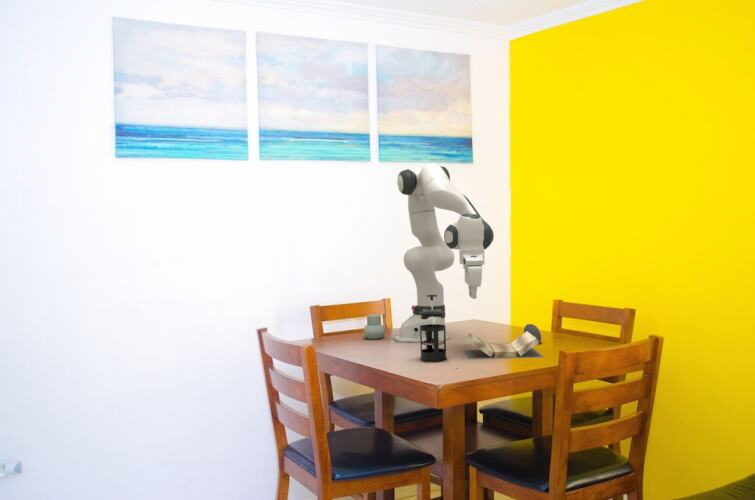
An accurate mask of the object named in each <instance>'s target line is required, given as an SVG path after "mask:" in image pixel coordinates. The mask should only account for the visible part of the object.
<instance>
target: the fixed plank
mask: <svg viewBox="0 0 755 500" xmlns="http://www.w3.org/2000/svg"><path fill="white" fill-rule="evenodd" d="M488 345H489V346H490V348H491V349H492V350H493V351H494V353H493V356H494V357H495V358H496V359H510V358H509V357H517V355H516V351H515V350H514V349H513V348H512V347H511V345H510V343H501V344H500V343H497V344H496V343H493V344H492V343H491V344H488Z"/></svg>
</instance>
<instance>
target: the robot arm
mask: <svg viewBox="0 0 755 500" xmlns="http://www.w3.org/2000/svg"><path fill="white" fill-rule="evenodd" d="M396 181H397V182H396V183H397V187H398V190H399V192H400V193H401V194H402V195H405V196H408V197H407V207H408V216H409V217H408V218H409V224H410V229H411V234H412V235H413V236H414V237H415V238H416V239H417V240H418V241H419V243H420V244H421V245H418V246H414V247H412V248H409V249H407V250H406V252H405V253H404V255H403V263H404V267H405V268H406V269H407V271H408V272H410V274H411V275H412V278H413V279H414V283H415V287H416V297H417V299H416V301H417V305H412V306H411V310H412V315H411V316H409V317H408V318H407V319H406V320H405V321H403V322H402V324H401V325H400V329H399V334H396V335H395V336H394V341H396V342H398V343H403V342H404V343H420V326H421V325H427V324H432V317H429V318H428V319H421V314H420V312H423V311H430V310H432V304H433V310H437V311H444V312H445V313H444V318H441V317H433V324H440V325H445V333H446V340H448V339H449V338H450V337H449V334H448V332H447V331H448V330H447V326H446V306H445V303H444V302H445V299H444V297H445V295H444V286H443V284H442V283H441V282H439V281H438V280H439V279H438V278H437V275H436V272H441V271H444V270H447V269H449V268H451V267H452V266H453V264H454V263H455V254H454V251H453V250H459V251H458V252H459V255H458V256H459V264H460V265H463V266H462V268H463V269H464V283H465V284H467V287H468V295H469V297H470V298H471V299H472V300H473V299H474V300H475V299H477V293H478V288H479V287H482V286H481V285H482V278H483V266H484V265H485V250H486V249H488V248H489V247H490V246H491V245H492V243H493V241H494V231H493V228H492V227H491V225H490V224H489V223H488V222H486V220H485V219H483V217H482V216H481V215H480V213H479V212H478V210H477V209H476V207H475V206H474V205H473V204H472V202H471V200H470V199H469V198H468V197H467V196H466V195H465V194H463V193H462V192H460V191H459V190H458V189H457V188H456V187H455V186H454V185H453V183H452V182H451V175H450V172H449V170H448V169H447V167H445V166H443V165H442V166H441V165H439V164H437V163H433V162H431V163H428V164H425V165H424V166H421V167H416V168H411V169H409V168H406V169H404V170H401V171H400V172H399V174H398V175H397V180H396ZM436 208H437V209H441V210H447V211H449V212H450V211H451V212H453V213H456V214H458V215H459V218H458V220H457V221H455V222H454V223H452V224H449V225H448V226H447V227H445V230H444V234H443V237H444V239H443V237H442V235H441V232H440V229H439V226H438V221H437V216H436V210H435V209H436ZM427 295H437V296H436V297H433V301H432V304H431V298H430V297H426V296H427ZM433 338H434V337H433ZM425 340H426V331H422V341H425ZM438 340H443V341H444V331H438Z"/></svg>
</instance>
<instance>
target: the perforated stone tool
mask: <svg viewBox="0 0 755 500" xmlns="http://www.w3.org/2000/svg"><path fill="white" fill-rule="evenodd" d="M527 331H528V332H529V333H530V334H532V335H533V336H534V337H535V338H536V339H537V340H538V341H539V343H538V344H537V345H540V344H541V341H542V333H541V331H540V329H539V327H537V326H536V325H534V324H532V323H527V324H526V325H525V326H524V328H523V334H524V333H525V332H527Z"/></svg>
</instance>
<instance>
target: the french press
mask: <svg viewBox="0 0 755 500" xmlns="http://www.w3.org/2000/svg"><path fill="white" fill-rule="evenodd" d="M436 296H437V295H427V296H426V297H430V298H431V304H432V301H433V297H436ZM444 313H445V314H446V311H445V312H444V311H437V310H433V304H432V310H430V311H423V312H420V314H421V319H428V318H429V317H432V324H427V325H421V326H420V342H419V344H420V346H419V347H420V359H419V360H420V361H421V362H424V363H442V362H446V361H447V360H448V359H447V345H446V344H447V339H446V333H445V325H446V324H445V325H440V324H433V317H441V318H444ZM422 331H426V340H425V341H422ZM438 331H444V340H438ZM433 337H434V338H433ZM423 345H424V346H426V348H424V349H423ZM440 345H443V347H444V348H440V347H439V346H440Z"/></svg>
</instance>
